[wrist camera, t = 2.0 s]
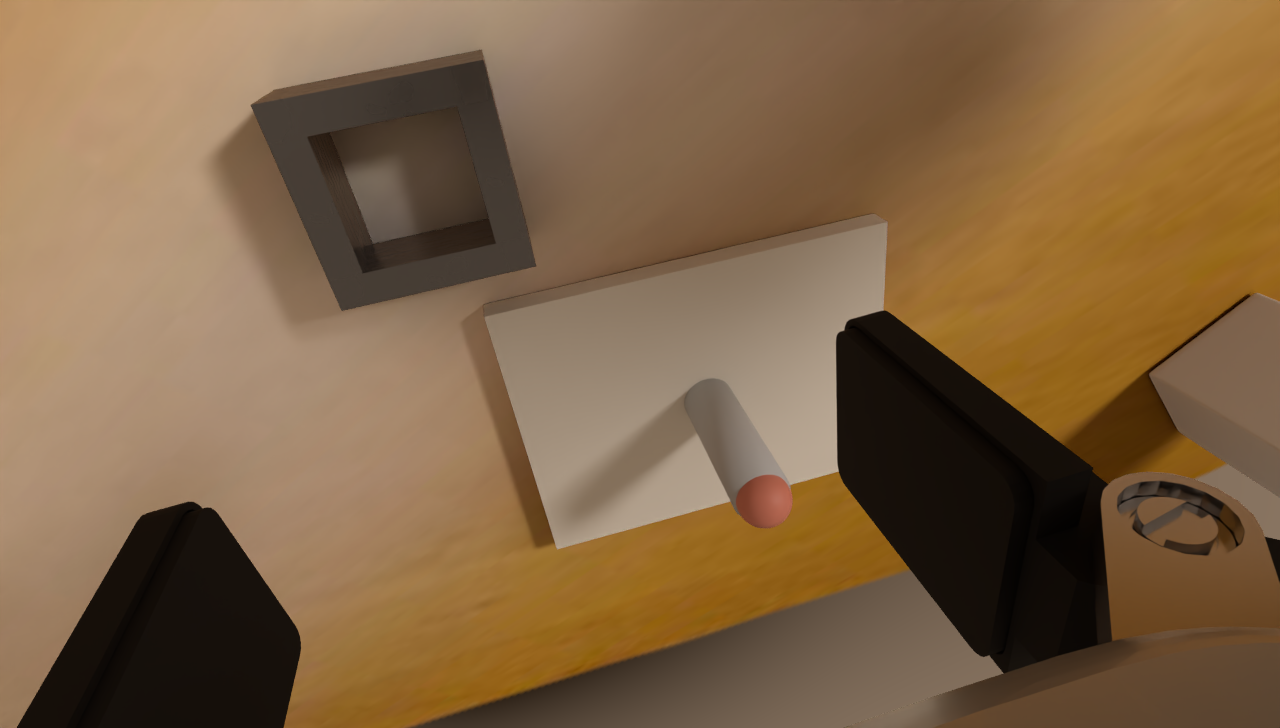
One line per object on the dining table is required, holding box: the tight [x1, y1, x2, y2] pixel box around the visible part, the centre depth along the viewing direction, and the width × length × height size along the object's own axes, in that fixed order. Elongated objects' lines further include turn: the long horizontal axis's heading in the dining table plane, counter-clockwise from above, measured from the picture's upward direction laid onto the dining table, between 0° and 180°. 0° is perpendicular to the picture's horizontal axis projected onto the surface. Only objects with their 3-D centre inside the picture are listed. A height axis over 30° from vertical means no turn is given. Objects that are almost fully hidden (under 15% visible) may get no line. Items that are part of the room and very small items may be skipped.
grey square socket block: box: [251, 50, 536, 311], centre depth 24 cm, size 7×7×3 cm
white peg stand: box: [484, 213, 888, 549], centre depth 29 cm, size 14×18×10 cm
